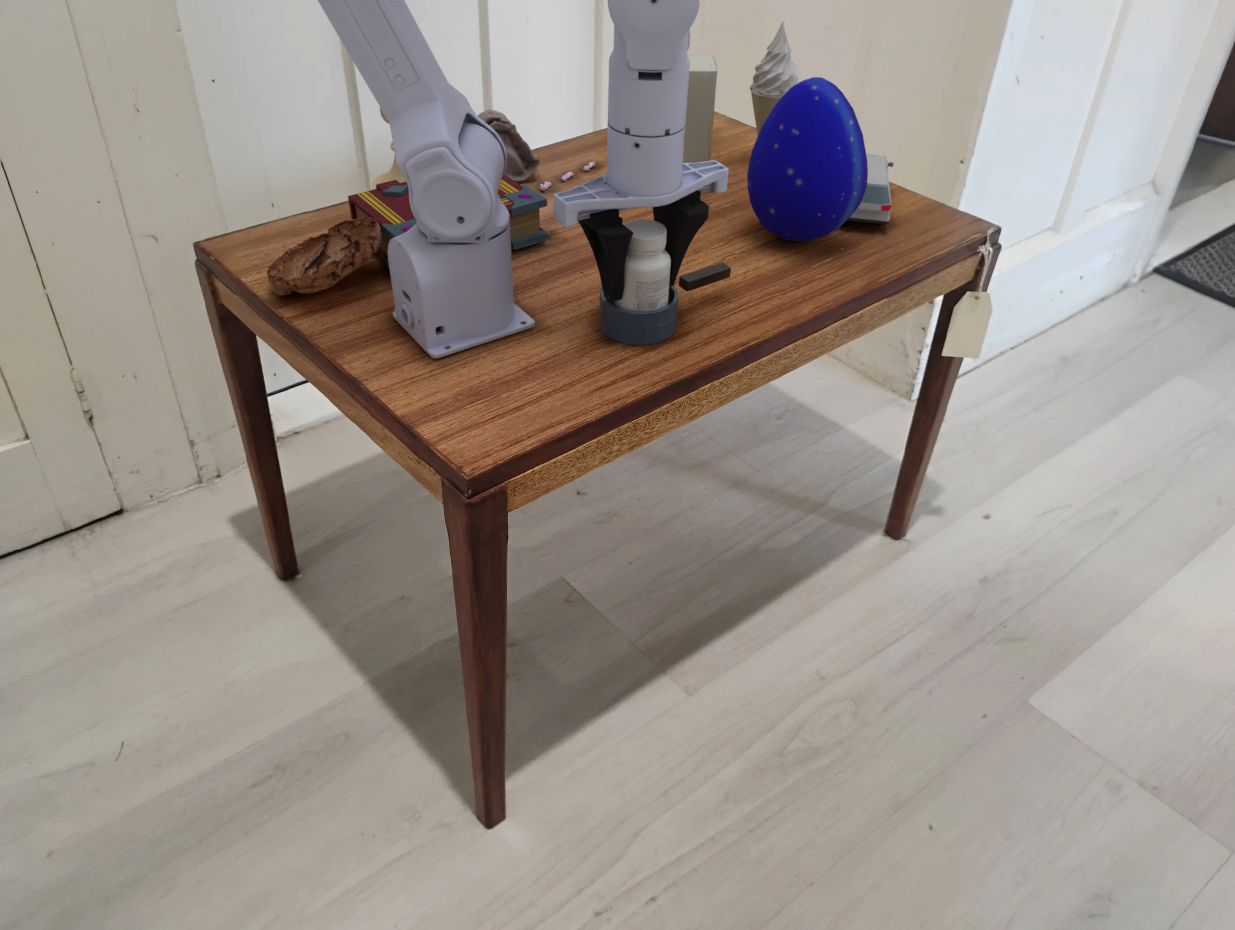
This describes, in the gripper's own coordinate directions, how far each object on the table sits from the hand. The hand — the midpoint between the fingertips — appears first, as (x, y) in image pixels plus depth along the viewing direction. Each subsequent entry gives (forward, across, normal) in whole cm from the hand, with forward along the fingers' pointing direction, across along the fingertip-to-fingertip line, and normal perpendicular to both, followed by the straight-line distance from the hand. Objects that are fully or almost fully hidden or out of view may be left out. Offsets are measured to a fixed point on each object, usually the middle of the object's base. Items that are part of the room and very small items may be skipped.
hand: (638, 287), depth 79 cm
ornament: (+3, -22, -7) cm, 23 cm away
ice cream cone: (+4, -31, -24) cm, 39 cm away
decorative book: (+3, +8, -21) cm, 23 cm away
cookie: (0, +21, -19) cm, 28 cm away
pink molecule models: (+4, -6, -28) cm, 29 cm away
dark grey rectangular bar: (+1, -7, -1) cm, 7 cm away
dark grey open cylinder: (+3, 0, 0) cm, 4 cm away
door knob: (-1, +8, -29) cm, 30 cm away
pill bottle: (+2, 0, +1) cm, 2 cm away
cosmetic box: (+4, -21, -24) cm, 32 cm away
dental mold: (0, -2, -31) cm, 31 cm away
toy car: (+3, -33, -10) cm, 34 cm away
